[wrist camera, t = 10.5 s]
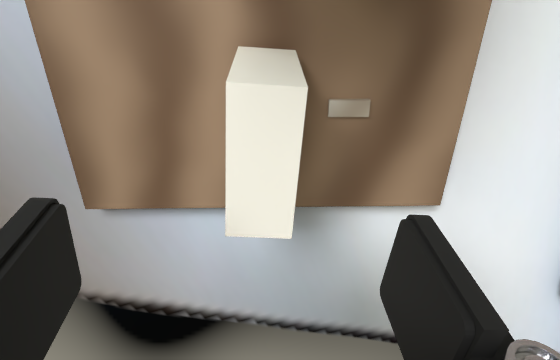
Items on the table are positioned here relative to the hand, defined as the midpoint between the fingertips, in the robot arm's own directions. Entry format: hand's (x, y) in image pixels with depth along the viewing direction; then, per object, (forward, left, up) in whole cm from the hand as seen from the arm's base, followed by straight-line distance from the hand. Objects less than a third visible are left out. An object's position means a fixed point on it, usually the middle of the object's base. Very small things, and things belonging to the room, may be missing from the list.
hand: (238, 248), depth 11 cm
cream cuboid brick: (+1, -2, -12) cm, 12 cm away
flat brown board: (+1, 0, -15) cm, 15 cm away
